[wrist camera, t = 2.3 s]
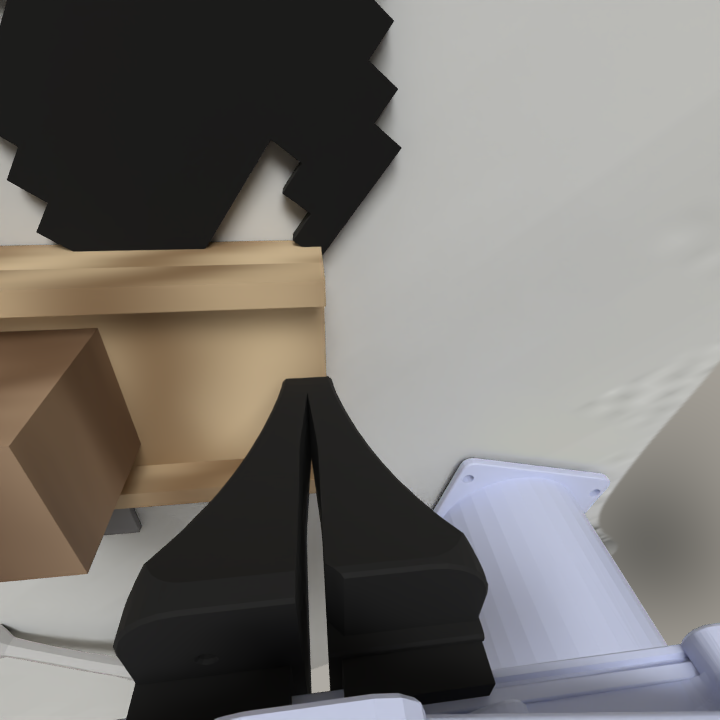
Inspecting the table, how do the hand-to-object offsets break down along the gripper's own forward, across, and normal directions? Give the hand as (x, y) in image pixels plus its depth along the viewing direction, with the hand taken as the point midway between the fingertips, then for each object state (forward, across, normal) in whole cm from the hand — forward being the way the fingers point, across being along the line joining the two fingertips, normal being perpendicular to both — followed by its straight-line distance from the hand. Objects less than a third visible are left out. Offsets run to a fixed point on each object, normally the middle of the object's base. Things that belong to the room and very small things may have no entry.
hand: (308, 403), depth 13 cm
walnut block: (+1, +8, 0) cm, 8 cm away
